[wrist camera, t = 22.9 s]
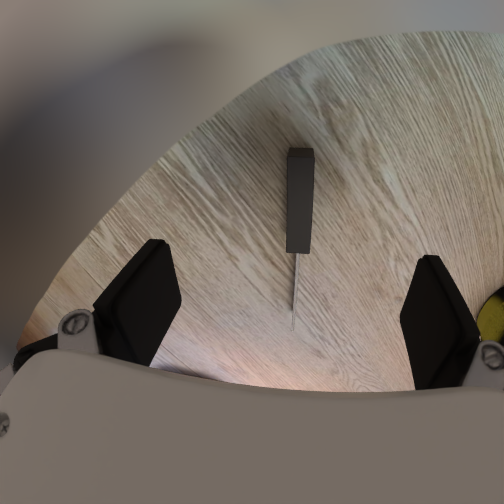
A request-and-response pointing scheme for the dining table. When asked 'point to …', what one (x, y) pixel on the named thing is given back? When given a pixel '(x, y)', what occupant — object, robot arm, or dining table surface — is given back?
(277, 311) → the dining table surface
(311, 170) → the knife
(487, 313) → the container
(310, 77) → the dining table surface
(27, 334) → the dining table surface
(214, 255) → the dining table surface
